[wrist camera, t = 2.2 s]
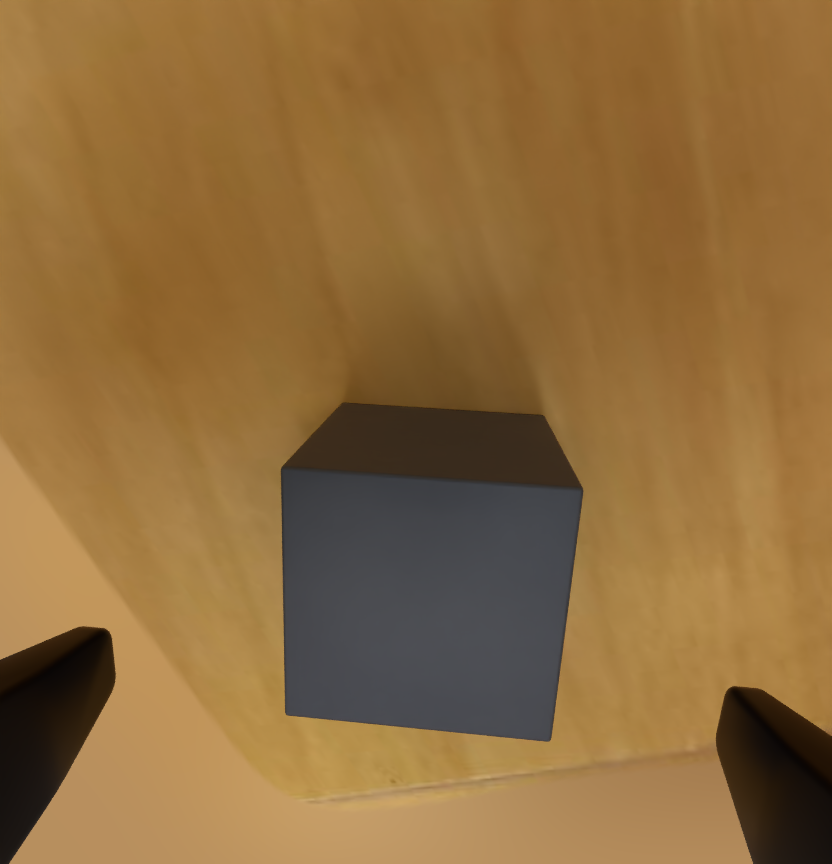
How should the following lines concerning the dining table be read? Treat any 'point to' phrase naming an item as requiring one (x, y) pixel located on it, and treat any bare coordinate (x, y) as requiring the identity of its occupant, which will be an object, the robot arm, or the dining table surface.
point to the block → (428, 570)
